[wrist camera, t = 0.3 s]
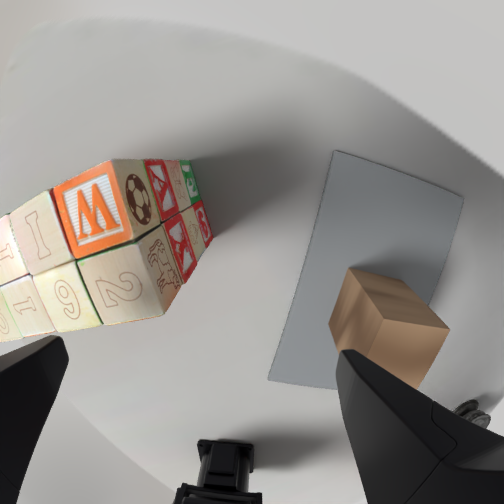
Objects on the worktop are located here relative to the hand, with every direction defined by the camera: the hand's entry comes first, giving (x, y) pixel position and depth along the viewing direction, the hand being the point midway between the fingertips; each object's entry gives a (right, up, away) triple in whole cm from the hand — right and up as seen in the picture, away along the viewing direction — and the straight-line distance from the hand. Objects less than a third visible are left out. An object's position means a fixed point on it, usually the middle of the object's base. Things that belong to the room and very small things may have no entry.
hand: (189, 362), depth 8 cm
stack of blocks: (-12, +5, +15) cm, 20 cm away
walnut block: (+11, -1, +15) cm, 18 cm away
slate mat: (+11, 0, +15) cm, 19 cm away
